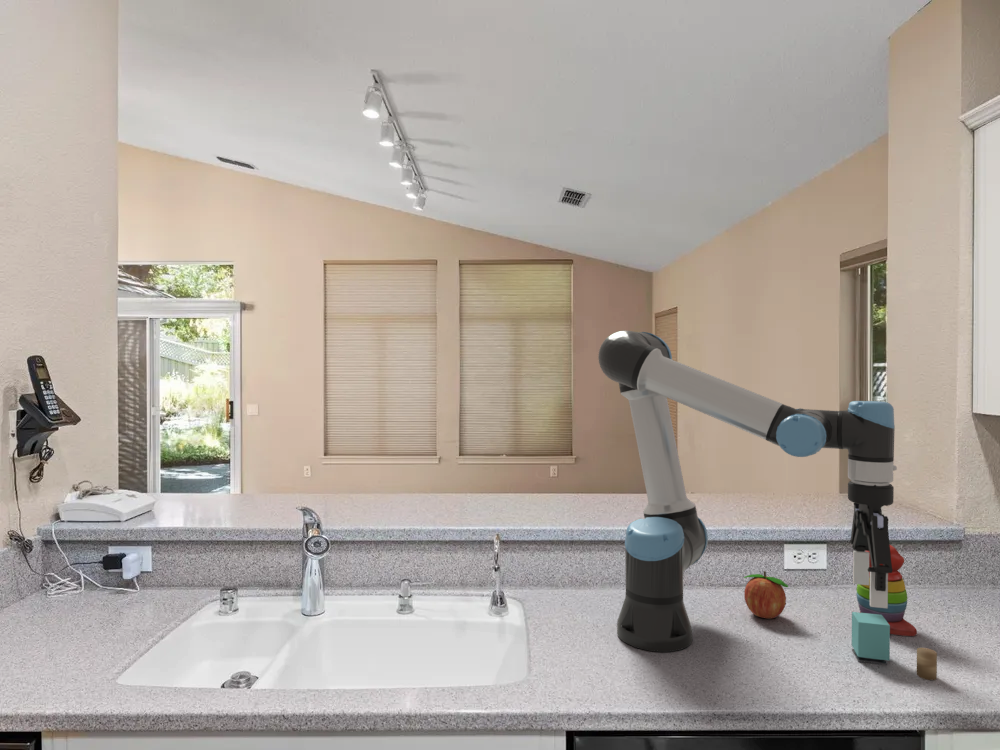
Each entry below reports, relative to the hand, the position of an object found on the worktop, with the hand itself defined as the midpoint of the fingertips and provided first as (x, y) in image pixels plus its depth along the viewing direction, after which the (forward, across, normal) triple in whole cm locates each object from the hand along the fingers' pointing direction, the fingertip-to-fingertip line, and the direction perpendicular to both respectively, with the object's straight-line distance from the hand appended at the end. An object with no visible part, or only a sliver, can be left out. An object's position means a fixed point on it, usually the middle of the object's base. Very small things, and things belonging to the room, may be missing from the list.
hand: (869, 595), depth 120 cm
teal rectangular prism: (+11, 0, 0) cm, 11 cm away
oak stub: (+12, -5, -8) cm, 15 cm away
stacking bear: (+12, +18, -7) cm, 23 cm away
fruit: (+12, +16, +17) cm, 26 cm away
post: (+12, 0, 0) cm, 12 cm away
